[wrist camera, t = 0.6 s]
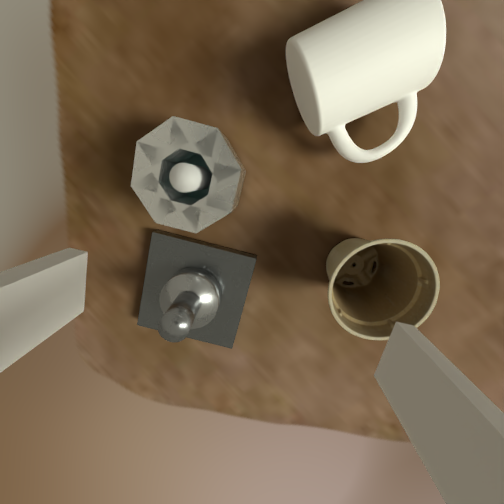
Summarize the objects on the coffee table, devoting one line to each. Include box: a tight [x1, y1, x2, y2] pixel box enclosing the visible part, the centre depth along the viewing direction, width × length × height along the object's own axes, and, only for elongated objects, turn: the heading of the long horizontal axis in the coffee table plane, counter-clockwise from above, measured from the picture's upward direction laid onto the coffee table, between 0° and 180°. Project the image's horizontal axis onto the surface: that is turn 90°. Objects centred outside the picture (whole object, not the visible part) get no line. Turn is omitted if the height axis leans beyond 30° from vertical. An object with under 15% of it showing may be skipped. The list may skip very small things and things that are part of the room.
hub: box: [137, 230, 257, 348], centre depth 29 cm, size 12×12×9 cm
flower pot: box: [326, 238, 440, 340], centre depth 28 cm, size 9×9×9 cm
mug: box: [286, 0, 446, 163], centre depth 24 cm, size 12×10×8 cm
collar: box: [131, 116, 246, 233], centre depth 26 cm, size 9×9×6 cm
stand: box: [169, 155, 212, 199], centre depth 26 cm, size 7×7×8 cm
